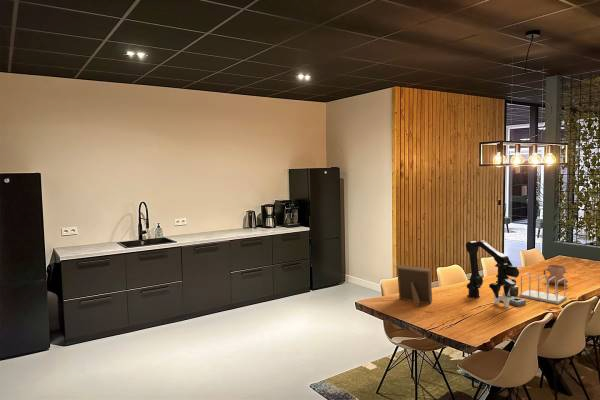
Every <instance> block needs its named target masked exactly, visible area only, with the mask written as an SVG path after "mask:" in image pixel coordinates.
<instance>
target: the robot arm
mask: <svg viewBox="0 0 600 400" xmlns="http://www.w3.org/2000/svg"><path fill="white" fill-rule="evenodd" d="M479 247H480V248H481V249H483V250H484V251H485V252H487V254H489V255H490V256H491V257H492V258H493V259H494V261H495V265H494V267H496V268H497V274H496V275H495V277H496V278H497V280H496V281H495V282H491V283H489V285H488V288H490V289H491V290H492V292H493V295H494V294H495V296H496V298H498V295H499V293H500V291H501V288H502V287H503V288H504V293H505V296H507V295H508V292H509V290H510V288H512V287H514V286H517V279H515V278H518V277H519V275H520V270H519V269H518V267H517V266H514V265H513V264H512V261H511V260H510V257H509V256H508V255H506V254H504V253H502V252H499V251H498V250H497V249H495V248H494V247H493V246H491V245H490V244H489V243H488V242H487V241H486V240H484V239H483V240H478V241H476V240H473V241H472V240H471V241H467V242H466V243H465V250H466V252H467V253H468V254H469V262H470V263H469V264H470V272H471V275H470V277H469V282H468V283H467V284H466V289H468V294H467V295H466V296H467V297H468V298H472V299H476V298H480V297H481V296H480V289H481V287H482V286H483V283H484V279H483V278H484V277H483V276H482V275H480V272H479V271H480V270H479V263H478V251H479ZM509 277H511V278H512V280H510V279H509ZM503 288H502V289H503Z"/></svg>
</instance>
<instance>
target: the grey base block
mask: <svg viewBox="0 0 600 400" xmlns="http://www.w3.org/2000/svg"><path fill="white" fill-rule="evenodd" d="M503 296H505V295H503ZM507 297H510V302H509V305H512V306H515V307H522V306H525V305H527V300H526V299H523V298H519V297H517V296H516V297H513V296H509V295H507ZM500 302H502V303H504V301H500Z"/></svg>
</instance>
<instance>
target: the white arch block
mask: <svg viewBox="0 0 600 400" xmlns="http://www.w3.org/2000/svg"><path fill="white" fill-rule="evenodd" d="M493 300H494V301H493V302H494V305H500V302H501V301H504V302H503V307H504V308H509V307H510V304H509V302H510V297H507V296H503V295H502V294H499V295H498V298H496V296H495V294H494V293H493Z"/></svg>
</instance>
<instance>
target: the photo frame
mask: <svg viewBox="0 0 600 400" xmlns="http://www.w3.org/2000/svg"><path fill="white" fill-rule="evenodd" d="M396 272H397V273H396V274H397V283H398V284H397V285H398V297H399V299H398V300H401V299H404V300H403V301H408V300H410V301H409V302H413V306H414V307H417V308H419V307H420V303H421V304H428V305H431V304H432V302H433V291H432V290H433V288H432V287H433V286H432V273H431V272H432V271H431V268H429V267H420V266H414V265H413V266H412V265H404V264H403V265H402V264H398V265H397V267H396Z"/></svg>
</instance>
